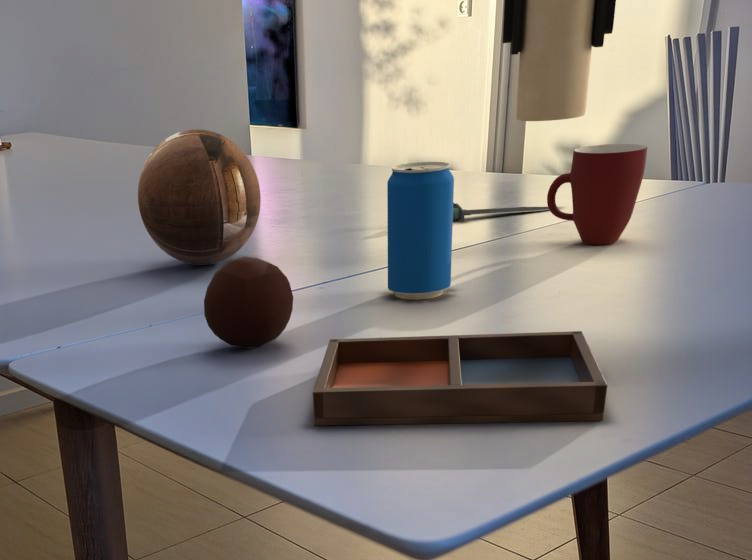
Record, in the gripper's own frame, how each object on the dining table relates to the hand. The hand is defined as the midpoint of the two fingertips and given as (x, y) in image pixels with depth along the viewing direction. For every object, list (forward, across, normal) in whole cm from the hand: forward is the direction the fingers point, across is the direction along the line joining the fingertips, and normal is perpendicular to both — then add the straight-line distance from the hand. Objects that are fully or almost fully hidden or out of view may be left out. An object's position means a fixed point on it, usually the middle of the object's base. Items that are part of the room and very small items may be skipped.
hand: (555, 47), depth 73 cm
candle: (+5, 0, 0) cm, 5 cm away
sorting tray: (+21, -7, -20) cm, 30 cm away
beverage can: (+21, -11, +11) cm, 27 cm away
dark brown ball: (+21, -26, -6) cm, 34 cm away
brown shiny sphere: (+21, -38, +31) cm, 54 cm away
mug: (+21, +8, +34) cm, 41 cm away
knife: (+21, -4, +54) cm, 59 cm away
